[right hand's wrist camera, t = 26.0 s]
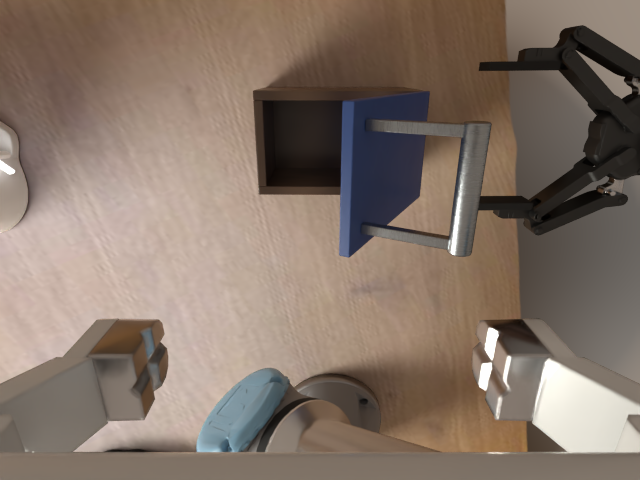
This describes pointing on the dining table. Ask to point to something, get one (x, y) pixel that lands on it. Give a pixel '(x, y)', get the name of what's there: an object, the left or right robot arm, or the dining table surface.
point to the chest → (303, 137)
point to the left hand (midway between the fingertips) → (474, 139)
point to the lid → (403, 171)
